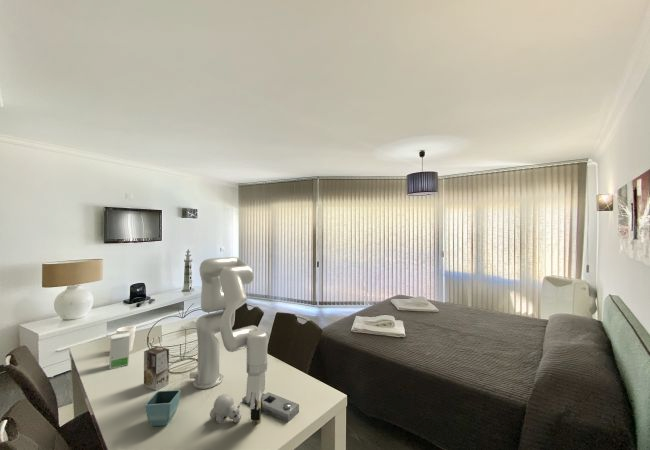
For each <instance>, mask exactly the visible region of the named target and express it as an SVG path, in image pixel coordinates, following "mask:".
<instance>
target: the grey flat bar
mask: <svg viewBox="0 0 650 450" xmlns="http://www.w3.org/2000/svg"><path fill="white" fill-rule="evenodd" d="M241 401H242V403H244V404H247V405H249V406H250V405H251V399H250V401H249V403H246V395H245V396H244V397H242V400H241ZM262 412H264V413H267V414H268V415H271V416H272V417H275V418H278V419H279V420H282V421H283V422H286V423H289V422H290V421H291V420H292V419H293V418H294V417H295V416H296V415H297V414H298V413H299V412H300V404H299V403H297V402H295V401H291V400H289V399H286V398H285V397H284V398H283V396H279V395H277V394H274V393H271V392H269V391H268V392H267V393H263V395H262Z"/></svg>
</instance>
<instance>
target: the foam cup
mask: <svg viewBox="0 0 650 450" xmlns="http://www.w3.org/2000/svg"><path fill="white" fill-rule="evenodd" d="M136 331H137V326H136V325H126V326H122V327H119V328H117V329H116V333H115V335H118V334H124V333H129V334H130V343H129V352H131V351H132V350H133V349H134V342H135V336H136Z"/></svg>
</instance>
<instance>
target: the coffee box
mask: <svg viewBox="0 0 650 450" xmlns="http://www.w3.org/2000/svg"><path fill="white" fill-rule="evenodd" d="M169 366H170V349H169V348H166V347H161V346H158V345H156V346H154V347H151V348H149V349H147V350H144V351H143V387H145V388H148V389H150V390H154V391H159V390H160V389H162V388H163V387H166V386H167V385H169V383H170V382H169V375H170V373H169V368H170V367H169Z"/></svg>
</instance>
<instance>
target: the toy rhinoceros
mask: <svg viewBox="0 0 650 450" xmlns="http://www.w3.org/2000/svg"><path fill="white" fill-rule="evenodd" d="M234 402H235V401H234V398H233V396H232V395H230V394H228V393H222V394H220V395H218V397H216V398H215V401H214V402H213V406H212V407H213V408H212V409H211V410H210V413H209V416H210V418H213V419H214V418H215V421H216V422H217V423H222V422H223V420H224V418H227V417H228V418H229V420H232V421H233V422H234V423H236V424H237V423H239V422H240V421H241V419H242V415H241V413H240V407H241V405H234V404H235V403H234Z"/></svg>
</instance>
